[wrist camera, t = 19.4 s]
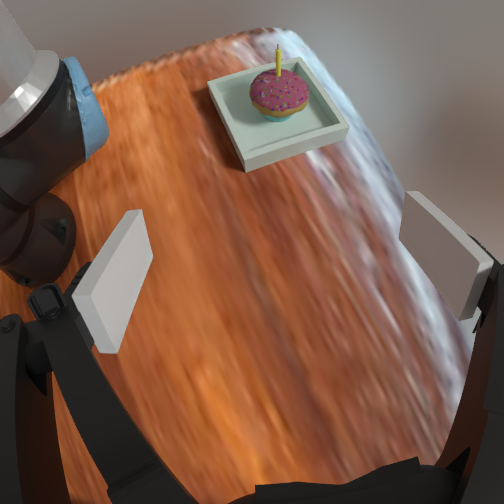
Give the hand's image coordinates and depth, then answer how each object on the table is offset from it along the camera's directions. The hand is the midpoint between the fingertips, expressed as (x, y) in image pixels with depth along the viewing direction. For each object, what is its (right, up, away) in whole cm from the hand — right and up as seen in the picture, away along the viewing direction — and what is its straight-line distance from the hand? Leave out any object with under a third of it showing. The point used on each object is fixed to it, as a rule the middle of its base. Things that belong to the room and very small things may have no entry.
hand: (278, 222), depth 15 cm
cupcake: (+3, +20, +30) cm, 37 cm away
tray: (+2, +20, +31) cm, 37 cm away
